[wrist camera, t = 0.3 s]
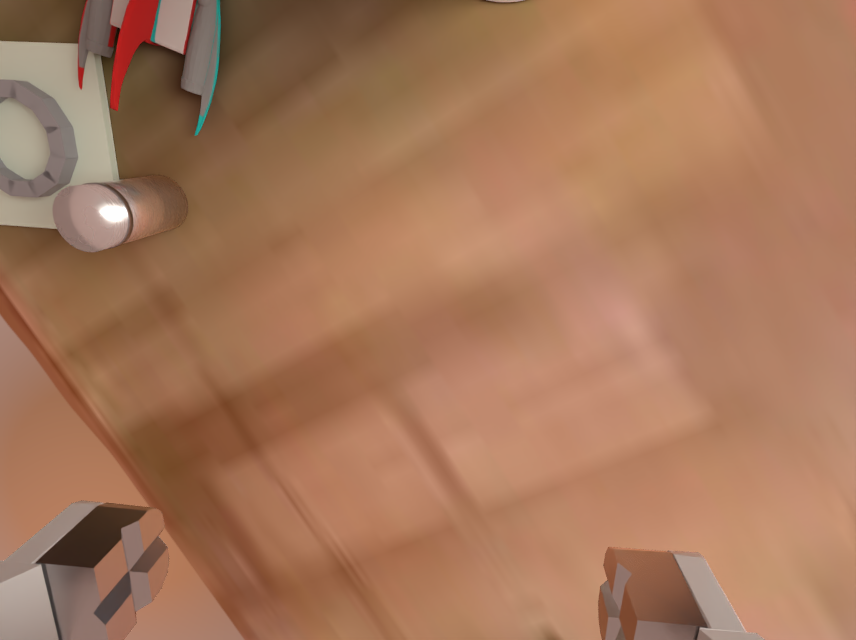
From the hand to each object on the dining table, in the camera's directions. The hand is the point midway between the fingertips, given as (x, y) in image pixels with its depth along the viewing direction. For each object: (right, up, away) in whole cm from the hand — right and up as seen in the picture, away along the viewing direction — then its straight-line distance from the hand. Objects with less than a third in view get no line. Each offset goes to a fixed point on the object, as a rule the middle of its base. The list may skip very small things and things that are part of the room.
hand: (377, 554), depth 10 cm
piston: (-24, +15, +40) cm, 49 cm away
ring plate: (-35, +21, +39) cm, 57 cm away
